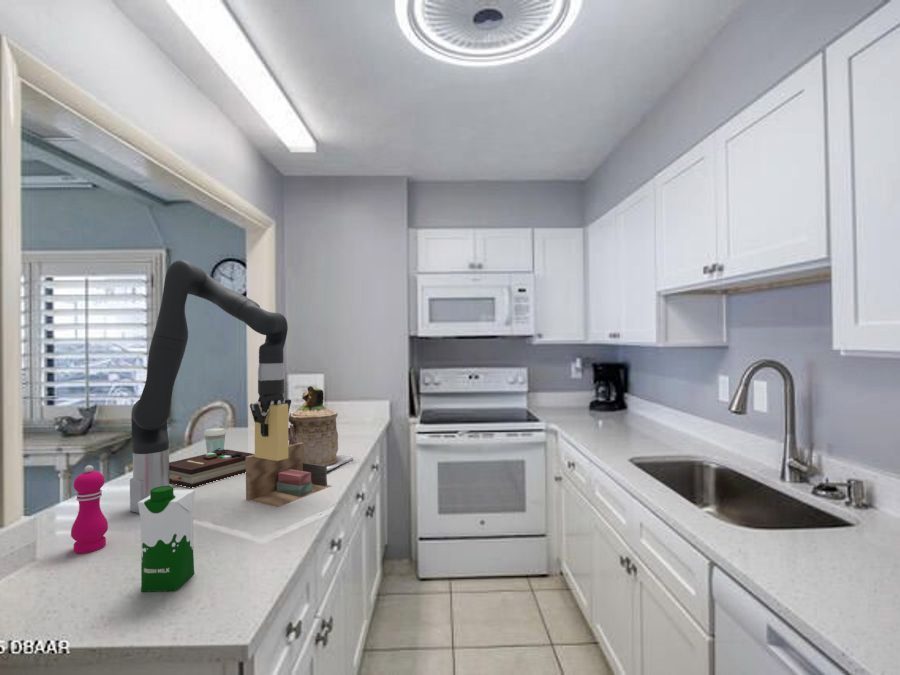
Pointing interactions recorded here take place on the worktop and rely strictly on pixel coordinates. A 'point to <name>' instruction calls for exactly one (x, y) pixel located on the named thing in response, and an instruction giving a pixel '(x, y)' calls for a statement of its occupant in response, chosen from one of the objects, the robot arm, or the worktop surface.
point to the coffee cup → (214, 439)
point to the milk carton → (166, 539)
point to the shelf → (270, 477)
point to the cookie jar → (316, 431)
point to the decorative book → (207, 467)
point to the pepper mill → (89, 513)
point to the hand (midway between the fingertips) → (271, 434)
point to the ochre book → (273, 435)
